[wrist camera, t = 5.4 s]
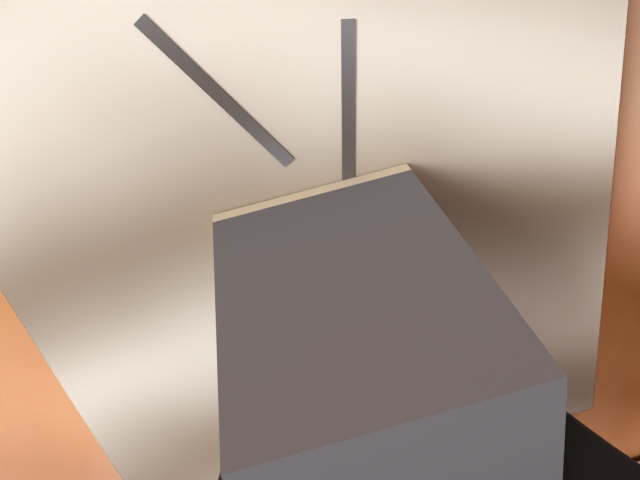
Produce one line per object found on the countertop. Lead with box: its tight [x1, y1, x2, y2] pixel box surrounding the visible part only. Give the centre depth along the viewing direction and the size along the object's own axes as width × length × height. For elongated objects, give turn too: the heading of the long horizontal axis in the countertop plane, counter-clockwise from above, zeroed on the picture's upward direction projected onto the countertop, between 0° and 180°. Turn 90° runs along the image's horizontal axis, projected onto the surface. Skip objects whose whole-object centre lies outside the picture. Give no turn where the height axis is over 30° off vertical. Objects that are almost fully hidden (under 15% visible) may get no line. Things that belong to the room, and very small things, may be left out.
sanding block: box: [212, 164, 568, 480], centre depth 11 cm, size 9×4×6 cm, turn 11°
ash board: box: [0, 0, 628, 480], centre depth 13 cm, size 16×13×1 cm
